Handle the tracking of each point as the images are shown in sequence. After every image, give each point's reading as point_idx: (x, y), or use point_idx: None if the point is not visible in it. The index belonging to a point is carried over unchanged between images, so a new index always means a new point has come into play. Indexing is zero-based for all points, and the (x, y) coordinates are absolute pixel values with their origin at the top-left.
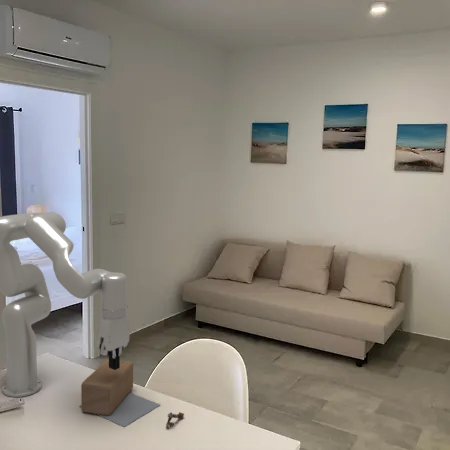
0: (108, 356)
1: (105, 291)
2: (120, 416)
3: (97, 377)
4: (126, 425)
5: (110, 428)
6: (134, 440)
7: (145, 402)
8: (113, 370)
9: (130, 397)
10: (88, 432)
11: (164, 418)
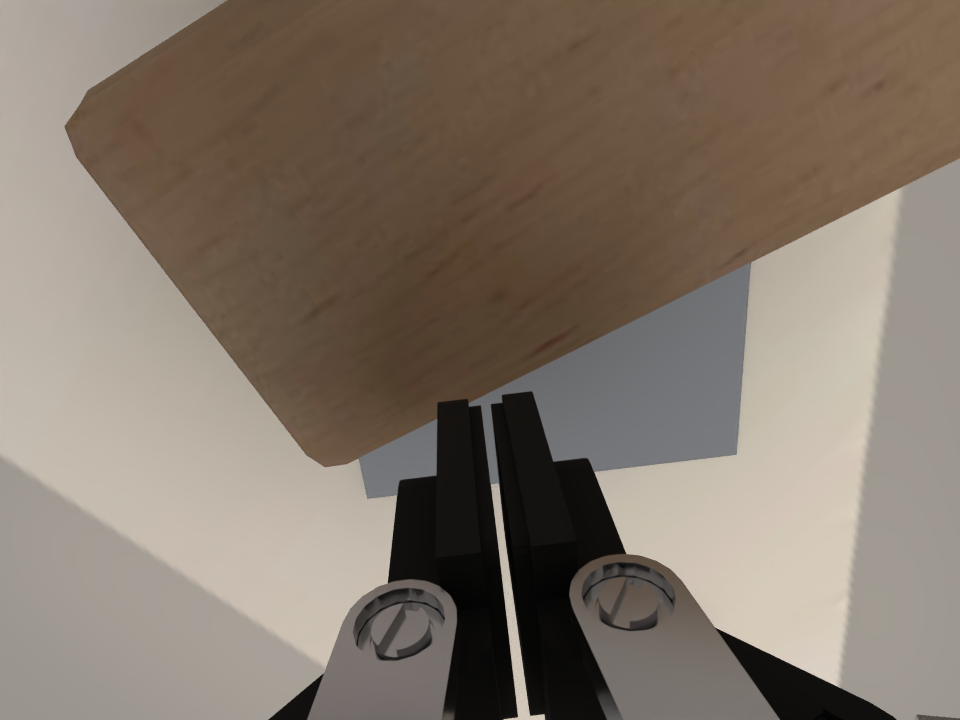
0: (361, 644)
1: None
2: None
3: (339, 163)
4: (388, 494)
5: (290, 447)
6: (330, 621)
7: (697, 362)
8: (674, 135)
9: None
10: (138, 388)
11: None
